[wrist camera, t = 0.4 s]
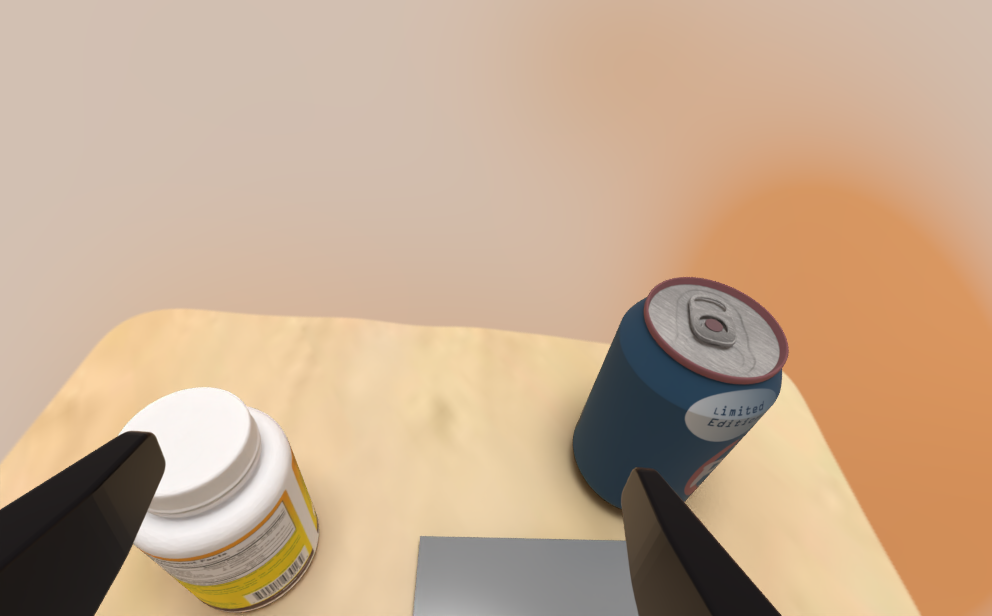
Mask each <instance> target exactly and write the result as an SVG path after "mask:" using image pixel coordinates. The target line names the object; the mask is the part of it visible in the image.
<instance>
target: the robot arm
mask: <svg viewBox="0 0 992 616" xmlns="http://www.w3.org/2000/svg"><path fill="white" fill-rule="evenodd" d="M165 466H166V462H165V458H164V455H163V453H162V450H161V448H160V445H159V443H158V440H157V438H156V436H155V435H154V434H153V433H152V432H144V431H127V432H125V433H122V434H121V435H119V436H117V437H116V438H114V439H113V440H111V441H109V442H108V443H106V444H105V445H103V446H101V447H100V448H98V449H97V450H95V451H93V452H92V453H90V454H89V455H87V456H85V457H84V458H82V459H81V460H79V461H77V462H76V463H74V464H73V465H71V466H69V467H68V468H66V469H65V470H63V471H61V472H60V473H58V474H57V475H55V476H53V477H52V478H50V479H49V480H47V481H45V482H44V483H42V484H41V485H39V486H37V487H36V488H34V489H33V490H31V491H29V492H28V493H26V494H25V495H23V496H21V497H20V498H18V499H17V500H15V501H13V502H12V503H10V504H9V505H7V506H5V507H4V508H2V509H1V510H0V616H94V615H95V613H96V612H97V610H98V608H99V606H100V604H101V603H102V601H103V599H104V597H105V596H106V594H107V592H108V590H109V588H110V587H111V585H112V583H113V581H114V580H115V578H116V576H117V574H118V572H119V571H120V569H121V567H122V565H123V563H124V561H125V559H126V558H127V556H128V554H129V551H130V549H131V547H132V545H133V543H134V541H135V538H136V536H137V534H138V532H139V529H140V527H141V525H142V522H143V520H144V518H145V516H146V513H147V511H148V509H149V506H150V504H151V502H152V500H153V497H154V495H155V493H156V491H157V488H158V486H159V484H160V481H161V479H162V477H163V474H164V471H165ZM621 505H622V513H623V521H624V529H625V537H626V546H627V554H628V562H629V570H630V577H631V583H632V588H633V593H634V598H635V602H636V607H637V611H638V615H639V616H782V615H781V614H780V613H779V612H778V611H777V610H776V608H775V607H774V606H773V605H772V604H771V603H770V601H769V600H768V599H767V598H766V597H765V596H764V594H763V593H762V592H761V591H760V590H759V589H758V588H757V586H756V585H755V584H754V583H753V582H752V581H751V579H750V578H749V577H748V576H747V575H746V574H745V572H744V571H743V570H742V569H741V568H740V567H739V565H738V564H737V563H736V562H735V561H734V560H733V558H732V557H731V556H730V555H729V554H728V553H727V551H726V550H725V549H724V548H723V547H722V546H721V544H720V543H719V542H718V541H717V540H716V539H715V538H714V536H713V535H712V534H711V533H710V532H709V531H708V529H707V528H706V527H705V526H704V525H703V524H702V522H701V521H700V520H699V519H698V518H697V517H696V515H695V514H694V513H693V512H692V511H691V510H690V508H689V507H688V506H687V505H686V504H685V503H684V501H683V500H682V499H681V498H680V497H679V496H678V494H677V493H676V492H675V491H674V490H673V489H672V488H671V486H670V485H669V484H668V483H667V482H666V481H665V479H664V478H663V477H662V476H661V475H660V474H659V472H658V471H656V470H655V469H652V468H641V467H636V468H634V469H633V470H632V472H631V474H630V476H629V478H628V480H627V483H626V485H625V487H624V489H623V492H622V497H621Z"/></svg>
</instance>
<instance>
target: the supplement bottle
mask: <svg viewBox="0 0 992 616" xmlns="http://www.w3.org/2000/svg"><path fill="white" fill-rule="evenodd" d="M127 431H144V432H152V433H153V434H154V435H155V436H156V438H157V440H158V443H159V445H160V448H161V450H162V453H163V455H164V458H165V462H166V466H165V471H164V474H163V477H162V479H161V481H160V484H159V486H158V488H157V491H156V493H155V495H154V497H153V500H152V502H151V504H150V506H149V509H148V511H147V513H146V516H145V518H144V520H143V522H142V525H141V527H140V529H139V532H138V534H137V536H136V538H135V541H134V543H133V544H134V545H135V546H136V547H137V548H139V549H140V550H141V551H142V552H144V553H145V554H146V555H147V556H148V557H150V558H151V559H152V560H153V561H155V562H156V563H157V564H158V565H159V566H160V567H162V568H163V569H164V570H165V571H166V572H168V573H169V574H170V575H171V576H172V577H174V578H175V579H176V580H177V581H178V582H179V583H181V584H182V585H183V586H184V587H185V588H187V589H188V590H189V591H190V592H191V593H193V594H194V595H195V596H196V597H197V598H198V599H200V600H201V601H202V602H203V603H205V604H207V605H209V606H210V607H213V608H215V609H218V610H221V611H225V612H245V611H250V610H254V609H258V608H260V607H263V606H265V605H268V604H270V603H272V602H273V601H275V600H277V599H278V598H280V597H281V596H283V595H284V594H285V593H286V592H288V591H289V590H290V589H291V588H292V587H293V586H294V585H295V584H296V583H297V582H298V581H299V580H300V578H301V577H302V576H303V574H304V573H305V572H306V570H307V568H308V567H309V565H310V563H311V561H312V559H313V556H314V554H315V551H316V548H317V543H318V537H319V524H318V518H317V515H316V512H315V509H314V506H313V504H312V501H311V499H310V496H309V494H308V491H307V488H306V485H305V483H304V480H303V477H302V475H301V472H300V470H299V467H298V464H297V462H296V459H295V456H294V454H293V451H292V449H291V446H290V443H289V441H288V439H287V437H286V435H285V433H284V431H283V430H282V428H281V427H280V425H279V424H278V423H277V422H276V421H275V420H274V419H273V418H271V417H270V416H269V415H267V414H266V413H264V412H262V411H260V410H257V409H255V408H252V407H247V406H246V405H245V404H244V402H243V401H242V400H241V399H239V398H238V397H237V396H235V395H234V394H232V393H230V392H228V391H225V390H222V389H218V388H210V387H199V388H190V389H185V390H181V391H177V392H174V393H172V394H169V395H166V396H164V397H162V398H160V399H158V400H156V401H155V402H153V403H151V404H149V405H148V406H146V407H145V408H144V409H142V410H141V411H140V412H138V413H137V414H136V415H135V416H134V417H133V418H132V419H131V420H130V421H129V422H128V423H127V424H126V425H125V426H124V428H123V429H122V431H121V432H120V433H119V435H121V434H122V433H125V432H127ZM119 435H118V436H119Z"/></svg>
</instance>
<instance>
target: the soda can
mask: <svg viewBox="0 0 992 616" xmlns="http://www.w3.org/2000/svg"><path fill="white" fill-rule="evenodd" d="M788 351H789V350H788V343H787V339H786V337H785V334H784V332H783V330H782V329H781V327H780V326H779V324H778V322H777V321H776V320H775V319H774V317H773V316H772V315H771V314H770V313H769V312H768V311H767V310H766V309H765V308H764V307H762V306H761V305H760V304H759V303H758V302H756V301H755V300H753V299H752V298H750V297H749V296H747V295H746V294H744V293H742V292H740V291H738V290H736V289H734V288H732V287H730V286H727V285H725V284H722V283H719V282H716V281H712V280H708V279H703V278H695V277H680V278H673V279H669V280H666V281H664V282H662V283H660V284H658V285H657V286H655V287H654V288H653V289H652V290H651V292H650V293H649V295H648V296H647V297H646V298H644V299H643V300H641V301H640V302H638V303H636V304H635V305H634V306H633V307H631V308H630V309H629V310H628V311H627V312H626V314H625V315H624V317H623V319H622V321H621V323H620V325H619V328H618V330H617V332H616V335H615V337H614V339H613V342H612V344H611V346H610V348H609V351H608V353H607V355H606V358H605V360H604V362H603V365H602V367H601V369H600V372H599V374H598V376H597V379H596V381H595V383H594V385H593V388H592V390H591V392H590V395H589V397H588V399H587V402H586V404H585V406H584V409H583V411H582V413H581V416H580V418H579V420H578V422H577V425H576V427H575V431H574V436H573V450H574V456H575V459H576V462H577V465H578V468H579V470H580V472H581V474H582V475H583V477H584V479H585V480H586V482H587V483H588V484H589V485H590V487H591V488H592V489H593V490H594V491H595V492H596V493H597V494H598V495H599V496H600V497H601V498H603V499H604V500H605V501H607V502H608V503H610V504H612V505H613V506H615V507H617V508H620V509H622V505H621V497H622V492H623V489H624V487H625V485H626V483H627V480H628V478H629V476H630V474H631V472H632V470H633V469H634V468H636V467H641V468H652V469H655V470H656V471H658V472H659V474H660V475H661V476H662V477H663V478H664V479H665V481H666V482H667V483H668V484H669V485H670V486H671V488H672V489H673V490H674V491H675V492H676V493H677V494H678V496H679V497H680V498H681V499H682V500H683V501H684V502H685V501H686V500H687V499H688V498H689V496H690V495H691V494H692V493H693V492H694V491H695V490H696V489H697V488H698V486H699V485H700V484H701V483H702V482H703V481H704V480H705V479H706V478H707V477H708V475H709V474H710V473H711V472H712V471H713V470H714V469H715V468H716V467H717V466H718V464H719V463H720V462H721V461H722V460H723V459H724V458H725V457H726V456H727V455H728V453H729V452H730V451H731V450H732V449H733V448H734V447H735V446H736V445H737V443H738V442H739V441H740V440H741V439H742V438H743V437H744V436H745V435H746V434H747V432H748V431H749V430H750V429H751V428H752V427H753V426H754V425H755V424H756V423H757V421H758V420H759V419H760V418H761V417H762V416H763V415H764V414H765V413H766V412H767V410H768V409H769V408H770V407H771V406H772V405H773V404H774V402H775V401H776V399H777V397H778V395H779V393H780V389H781V382H782V367H783V366H784V364H785V362H786V360H787V358H788Z"/></svg>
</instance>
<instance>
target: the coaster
mask: <svg viewBox="0 0 992 616" xmlns="http://www.w3.org/2000/svg"><path fill="white" fill-rule="evenodd" d="M413 616H639V615H638V611H637V607H636V602H635V598H634V593H633V588H632V583H631V577H630V570H629V562H628V554H627V546H626V541H614V540H569V539H524V538H478V537H433V536H420V545H419V556H418V567H417V578H416V589H415V600H414V611H413Z"/></svg>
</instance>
